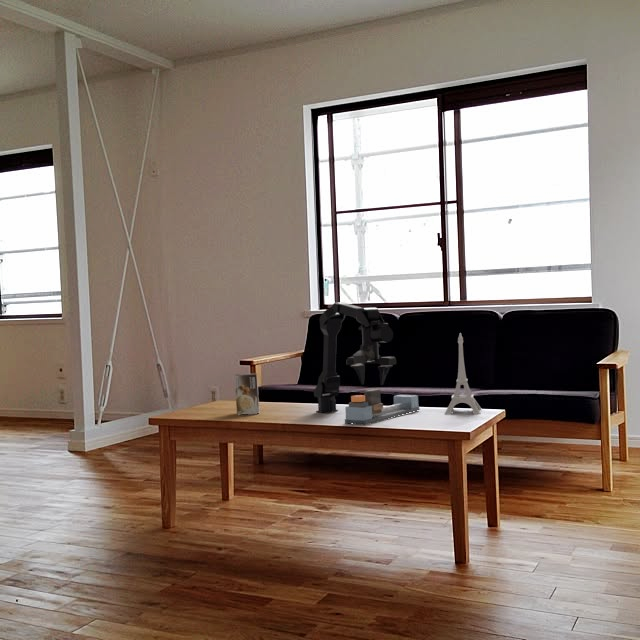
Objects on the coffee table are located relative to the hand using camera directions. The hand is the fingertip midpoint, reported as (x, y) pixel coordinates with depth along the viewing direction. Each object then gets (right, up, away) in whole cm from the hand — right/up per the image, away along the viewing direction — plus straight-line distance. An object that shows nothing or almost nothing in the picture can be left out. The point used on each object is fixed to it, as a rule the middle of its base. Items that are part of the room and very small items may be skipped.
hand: (372, 384), depth 288 cm
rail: (+5, -13, +6) cm, 15 cm away
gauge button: (-5, -5, -7) cm, 10 cm away
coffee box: (-48, -15, +31) cm, 59 cm away
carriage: (0, -11, 0) cm, 11 cm away
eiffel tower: (+35, -12, +11) cm, 39 cm away
